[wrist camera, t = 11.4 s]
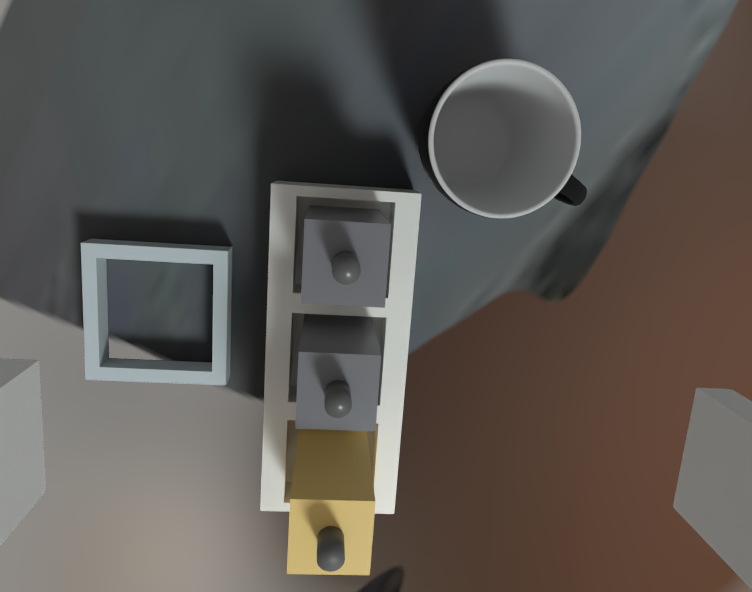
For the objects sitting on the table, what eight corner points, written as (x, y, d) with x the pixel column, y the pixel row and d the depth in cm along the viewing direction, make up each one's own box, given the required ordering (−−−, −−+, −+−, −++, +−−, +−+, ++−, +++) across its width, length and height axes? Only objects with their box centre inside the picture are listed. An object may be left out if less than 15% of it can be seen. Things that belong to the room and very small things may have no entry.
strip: (276, 180, 45) (257, 191, 34) (413, 189, 46) (442, 204, 34) (265, 482, 51) (246, 583, 39) (389, 486, 51) (406, 585, 40)
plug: (299, 414, 48) (287, 518, 35) (364, 416, 49) (377, 520, 35) (297, 473, 49) (284, 596, 36) (360, 475, 50) (371, 597, 36)
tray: (91, 238, 45) (80, 242, 43) (232, 246, 46) (228, 251, 44) (95, 370, 47) (85, 379, 46) (229, 375, 48) (225, 385, 46)
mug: (383, 165, 46) (398, 170, 36) (447, 52, 44) (481, 24, 34) (520, 245, 48) (569, 271, 38) (585, 140, 46) (654, 138, 36)
